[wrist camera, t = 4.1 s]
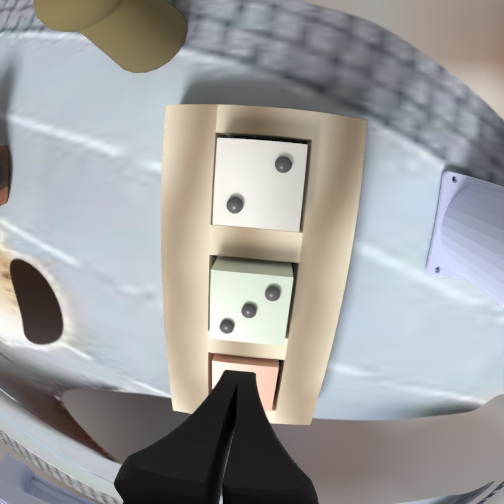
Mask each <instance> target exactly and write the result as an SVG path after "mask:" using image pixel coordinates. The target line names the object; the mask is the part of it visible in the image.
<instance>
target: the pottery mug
mask: <svg viewBox="0 0 504 504" xmlns="http://www.w3.org/2000/svg"><path fill="white" fill-rule="evenodd" d="M8 176H9V158H8V149H7V146H0V206H1V205H3V204H6V203H7V199H8Z"/></svg>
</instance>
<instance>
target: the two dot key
mask: <svg viewBox="0 0 504 504" xmlns="http://www.w3.org/2000/svg"><path fill="white" fill-rule="evenodd" d="M307 147H308V145H307V144H298V143H288V142H277V141H265V140H251V139H234V138H217V149H216V165H215V182H214V201H213V223H212V224H213V225H225V226H238V227H249V228H261V229H272V230H283V231H294V232H299V228H300V219H301V210H302V200H303V190H304V180H305V169H306V158H307Z"/></svg>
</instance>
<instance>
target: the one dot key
mask: <svg viewBox="0 0 504 504" xmlns="http://www.w3.org/2000/svg"><path fill="white" fill-rule="evenodd" d="M278 369H279V359H267V358H256V357H246V356H236V355H227V354H219V353H214V356H213V360H212V390H213V388H214V387H215V385H216V384H217V382H218V381H219V379H220V377H221V375H222V374H223V371H225V370H236V371H247V372H254V373H255V374H256V381H257V388H258V392H259V396H260V399H261V402H262V405H263V408H264V411H272V405H273V399H274V394H275V388H276V382H277V375H278Z"/></svg>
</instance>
